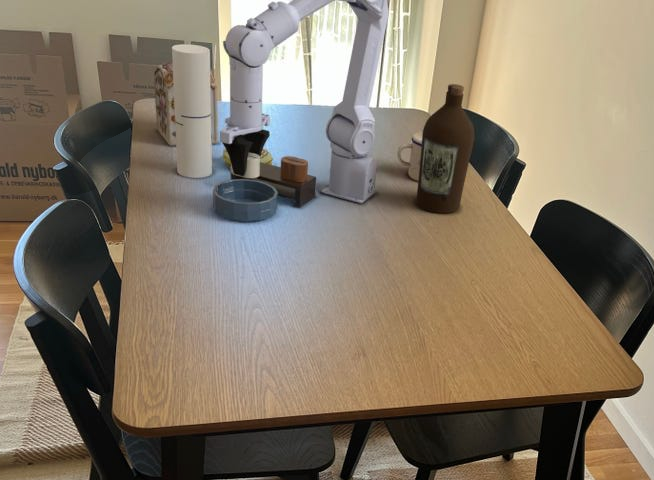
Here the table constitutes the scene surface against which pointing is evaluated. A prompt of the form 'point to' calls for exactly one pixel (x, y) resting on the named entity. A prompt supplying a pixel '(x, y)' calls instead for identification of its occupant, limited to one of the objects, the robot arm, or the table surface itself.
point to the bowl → (245, 200)
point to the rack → (285, 184)
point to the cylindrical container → (192, 110)
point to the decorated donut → (264, 157)
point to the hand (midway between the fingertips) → (245, 171)
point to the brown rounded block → (294, 169)
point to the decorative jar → (167, 108)
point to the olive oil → (445, 155)
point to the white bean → (251, 166)
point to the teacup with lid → (413, 155)
